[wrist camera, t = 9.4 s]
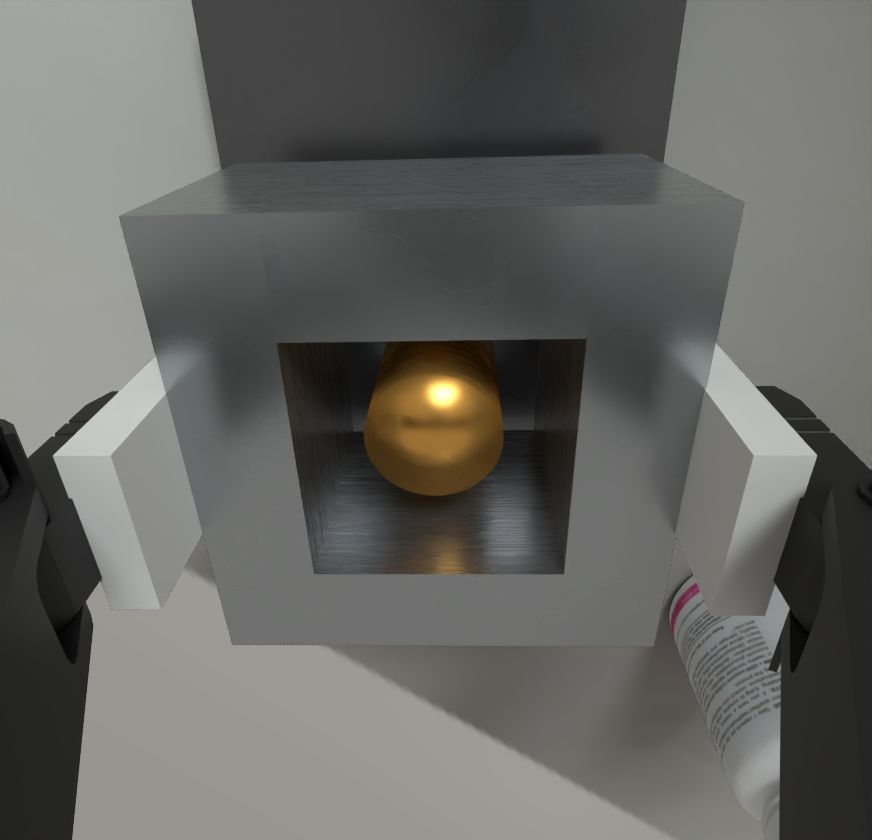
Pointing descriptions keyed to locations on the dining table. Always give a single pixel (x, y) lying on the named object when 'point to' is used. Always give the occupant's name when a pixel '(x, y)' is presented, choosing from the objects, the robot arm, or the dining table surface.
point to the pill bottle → (737, 693)
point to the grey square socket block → (437, 321)
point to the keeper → (433, 139)
